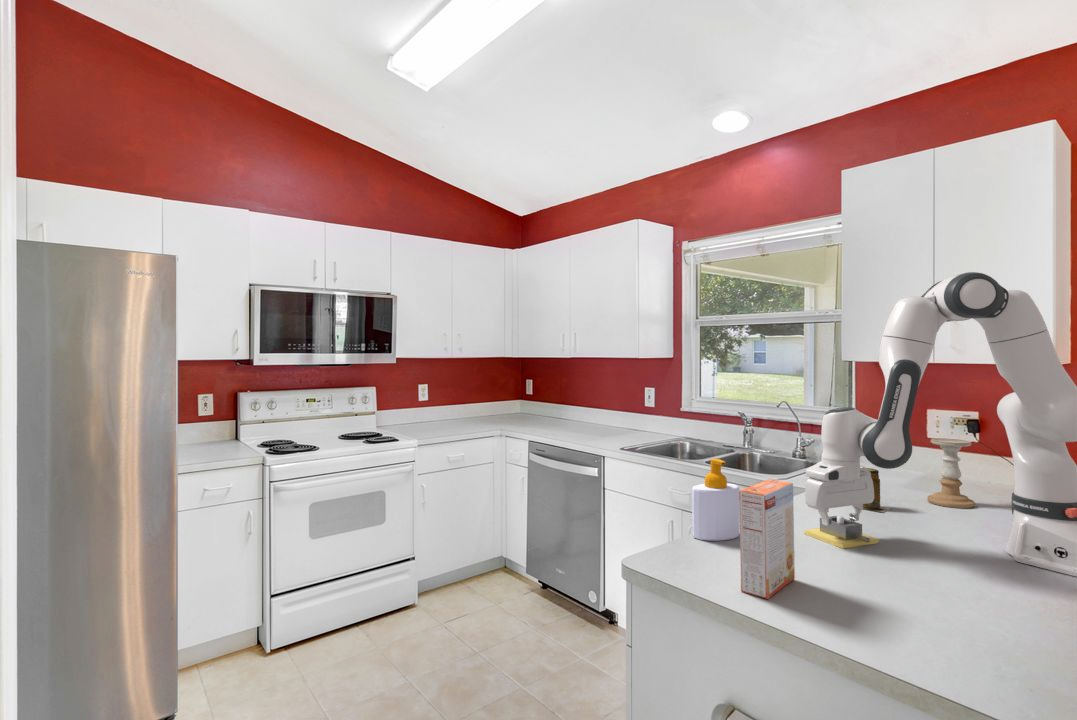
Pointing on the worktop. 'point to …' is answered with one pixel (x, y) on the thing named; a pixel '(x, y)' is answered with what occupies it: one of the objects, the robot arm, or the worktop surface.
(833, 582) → the worktop surface
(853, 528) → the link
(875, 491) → the condiment
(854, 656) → the worktop surface
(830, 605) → the worktop surface
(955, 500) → the candle holder
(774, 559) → the cracker box
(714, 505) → the soap bottle
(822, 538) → the keeper
